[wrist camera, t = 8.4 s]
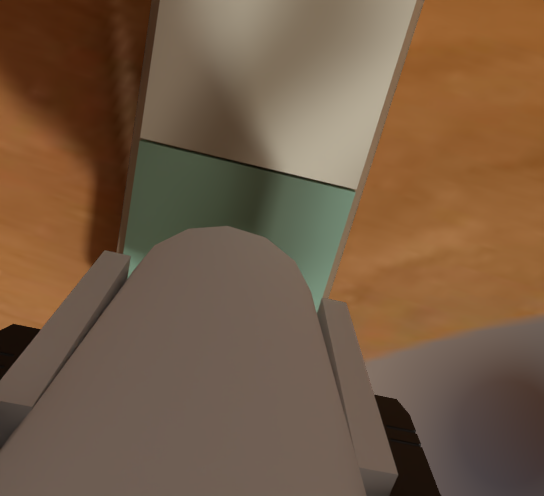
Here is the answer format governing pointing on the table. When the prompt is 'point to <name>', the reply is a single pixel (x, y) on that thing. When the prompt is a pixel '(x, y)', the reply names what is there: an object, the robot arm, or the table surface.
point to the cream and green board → (262, 122)
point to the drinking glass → (193, 386)
